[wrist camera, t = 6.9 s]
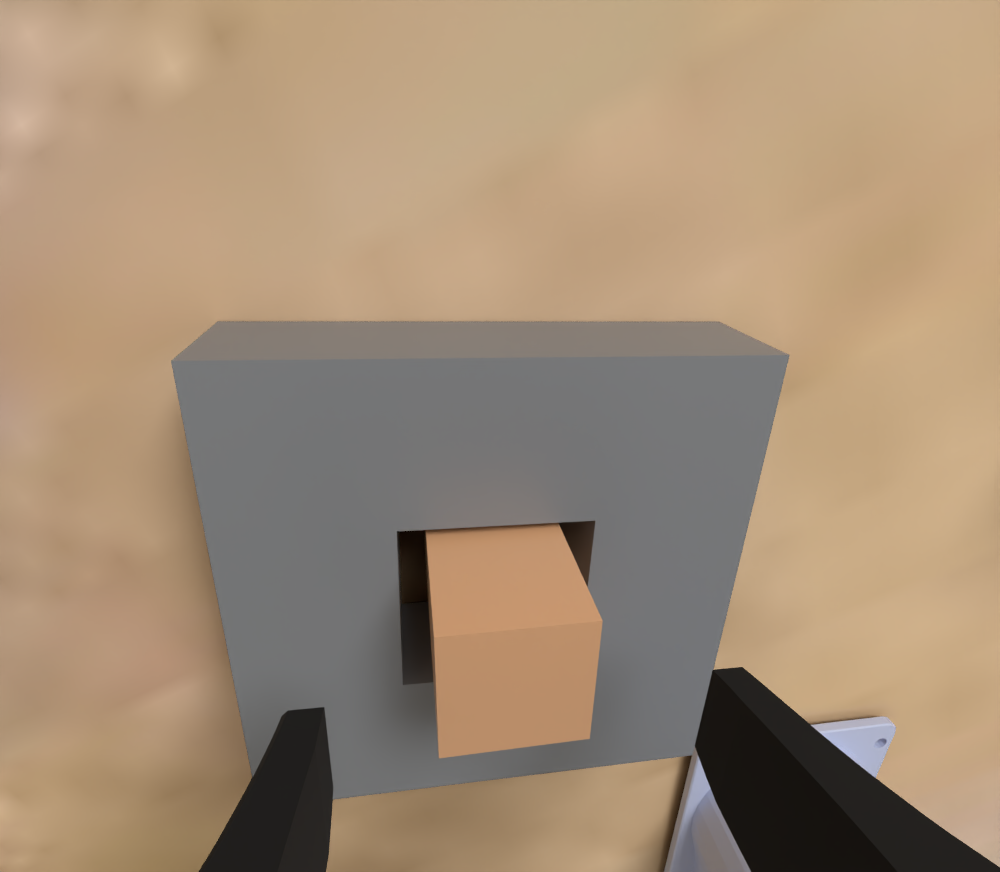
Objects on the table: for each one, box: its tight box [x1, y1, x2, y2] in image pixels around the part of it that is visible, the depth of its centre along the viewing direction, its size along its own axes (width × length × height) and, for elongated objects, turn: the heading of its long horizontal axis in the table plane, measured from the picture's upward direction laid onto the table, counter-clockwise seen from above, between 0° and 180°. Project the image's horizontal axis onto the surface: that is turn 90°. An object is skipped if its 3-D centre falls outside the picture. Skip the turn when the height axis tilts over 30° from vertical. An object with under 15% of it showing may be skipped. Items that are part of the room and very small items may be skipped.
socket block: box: [171, 322, 789, 799], centre depth 15 cm, size 12×12×3 cm
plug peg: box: [424, 523, 603, 758], centre depth 14 cm, size 3×3×6 cm
